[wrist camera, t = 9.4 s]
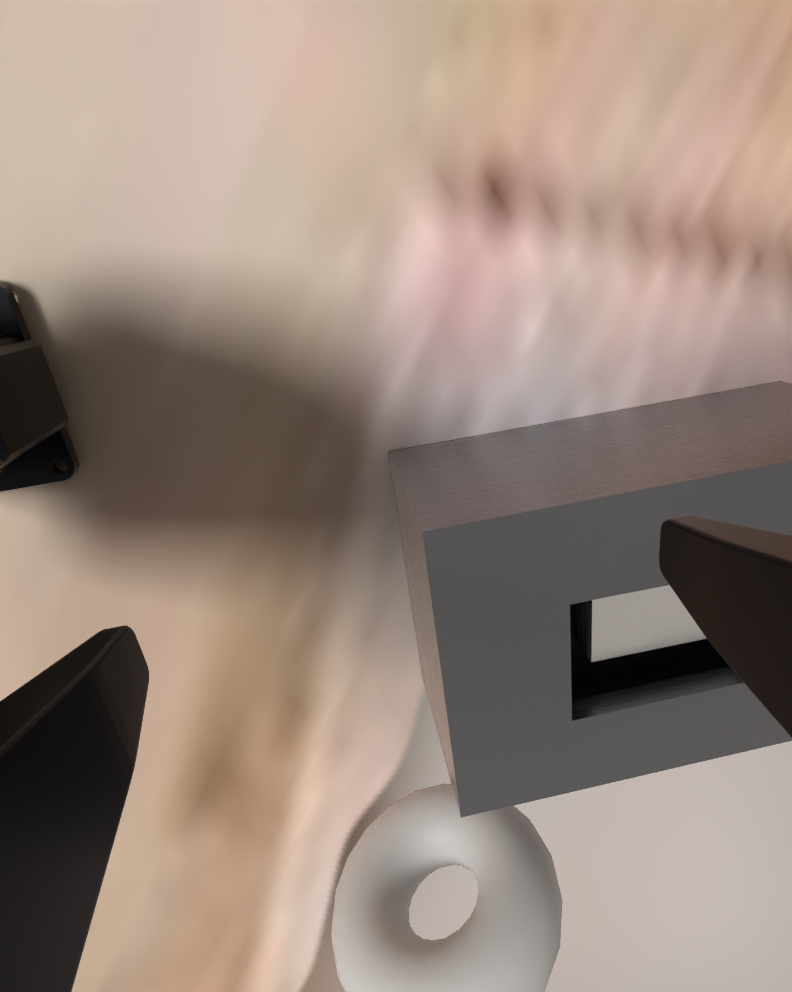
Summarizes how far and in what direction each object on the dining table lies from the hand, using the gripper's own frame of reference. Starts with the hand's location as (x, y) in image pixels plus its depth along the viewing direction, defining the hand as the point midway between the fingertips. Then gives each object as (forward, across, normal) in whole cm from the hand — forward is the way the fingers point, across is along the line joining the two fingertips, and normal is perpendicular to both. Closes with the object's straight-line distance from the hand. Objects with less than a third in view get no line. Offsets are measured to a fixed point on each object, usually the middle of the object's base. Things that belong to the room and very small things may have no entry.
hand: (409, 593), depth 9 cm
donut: (+12, 0, +20) cm, 23 cm away
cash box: (+12, -9, +7) cm, 17 cm away
